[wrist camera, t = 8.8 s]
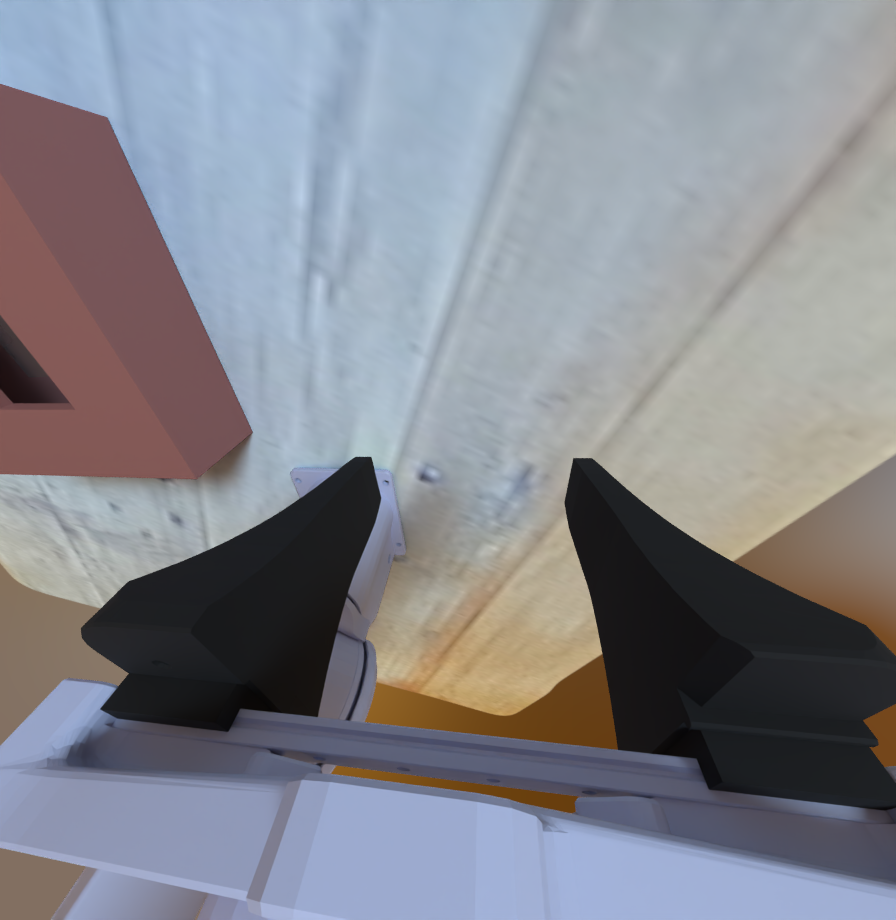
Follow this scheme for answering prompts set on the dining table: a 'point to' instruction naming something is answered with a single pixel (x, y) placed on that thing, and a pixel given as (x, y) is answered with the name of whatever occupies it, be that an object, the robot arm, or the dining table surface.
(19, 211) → the box
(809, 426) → the dining table surface
